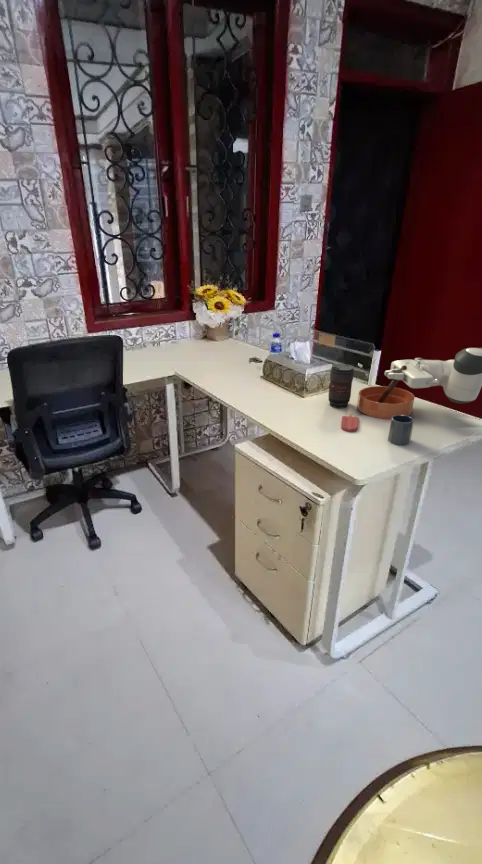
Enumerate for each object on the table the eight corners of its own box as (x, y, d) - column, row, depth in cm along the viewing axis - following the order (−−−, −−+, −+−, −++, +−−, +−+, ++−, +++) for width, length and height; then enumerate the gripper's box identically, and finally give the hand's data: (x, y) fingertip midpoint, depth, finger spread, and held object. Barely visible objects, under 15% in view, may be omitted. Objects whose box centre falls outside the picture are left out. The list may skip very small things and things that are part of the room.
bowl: (393, 398, 159) (395, 384, 157) (422, 417, 143) (425, 401, 140) (348, 403, 157) (350, 388, 155) (373, 422, 141) (375, 406, 138)
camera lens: (337, 410, 152) (341, 371, 145) (323, 403, 159) (326, 365, 152) (354, 406, 155) (359, 367, 148) (339, 399, 162) (343, 362, 155)
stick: (378, 404, 150) (405, 365, 144) (382, 406, 149) (409, 367, 142) (375, 403, 150) (402, 363, 143) (378, 405, 148) (405, 366, 141)
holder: (401, 436, 131) (406, 413, 127) (414, 445, 125) (418, 421, 122) (383, 439, 130) (387, 415, 127) (394, 448, 125) (399, 424, 121)
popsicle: (359, 412, 146) (357, 430, 133) (358, 416, 147) (357, 434, 134) (343, 410, 148) (340, 428, 135) (342, 414, 148) (340, 432, 136)
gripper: (439, 392, 135) (396, 393, 136) (414, 373, 154) (376, 374, 155) (443, 373, 133) (399, 375, 134) (417, 356, 151) (378, 357, 152)
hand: (386, 374), depth 144 cm, fingers closed on stick, 1 cm apart
